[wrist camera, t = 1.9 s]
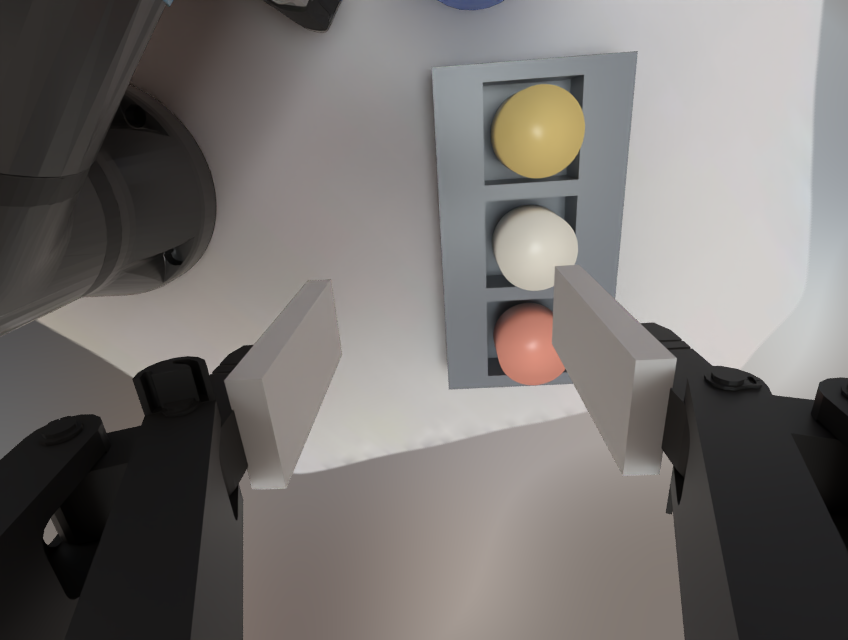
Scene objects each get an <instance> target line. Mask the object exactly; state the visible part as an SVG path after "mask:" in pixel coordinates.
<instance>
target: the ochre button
mask: <svg viewBox="0 0 848 640" xmlns="http://www.w3.org/2000/svg"><path fill="white" fill-rule="evenodd" d="M584 134H585V120H584V115H583V111H582V109H581V107H580V105H579V103H578V101H577V100H576V99H575V98H574V96H573V95H572V94H570V93H569V92H568V91H566V90H565V89H563V88H561V87H559V86H555V85H550V84H539V85H534V86H531V87H528V88H526V89H524V90H521V91H519V92H517V93H515V94H513V95H512V96H510V97H509V98H508V99H506V100H505V101H504V102H503V103H502V105H501V106H500V107H499V108H498V110H497V112H496V114H495V116H494V118H493V122H492V125H491V144H492V147H493V150H494V153H495V155H496V156H497V158H498V159H499V161H500V162H501V163H502V164H503V165H504V166H506V167H507V168H509V169H510V170H512V171H514V172H516V173H517V174H520V175H522V176H525V177H528V178H545V177H549V176H552V175H555V174H557V173H558V172H560V171H562V170H563V169H564V168H566V167H567V166H568V165H569V164H570V163H571V162H572V161H573V160H574V158H575V157H576V155H577V154H578V152H579V150H580V148H581V145H582V143H583V139H584Z"/></svg>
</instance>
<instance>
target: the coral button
mask: <svg viewBox="0 0 848 640" xmlns="http://www.w3.org/2000/svg"><path fill="white" fill-rule="evenodd" d="M552 327H553V312H552V311H551V310H550V309H549V308H547V307H545V306H543V305H541V304H537V303H522V304H518V305H515V306H513V307H511V308H509V309H508V310H506V311H505V312H504V313H503V314H502V315H501V316H500V317H499V319H498V320H497V322H496V324H495V327H494V331H493V340H494V344H495V348H496V352H497V356H498V359H499V363H500V366H501V368H502V370H503V371H504V372H505V374H506V375H507V376H508V377H509V378H511V379H512V380H514V381H516V382H518V383H521V384H525V385H540V384H544V383H547V382H550V381H552V380H554V379H555V378H557V377H558V376H559V375H561V374H562V373H563V372H564V370H565V367H564V365H563V363H562V362H561V360H560V358H559V356H558V354H557V352H556V350H555V349H554V347H553V345H552Z"/></svg>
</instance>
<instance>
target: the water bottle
mask: <svg viewBox="0 0 848 640" xmlns="http://www.w3.org/2000/svg"><path fill="white" fill-rule="evenodd" d="M438 1H440V2H442V3H443V4H445V5H447V6H450V7H454V8H457V9H461V10H478V9H484V8H489V7H491V6H493V5H496V4H498V3H501V2H502V1H504V0H438Z"/></svg>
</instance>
